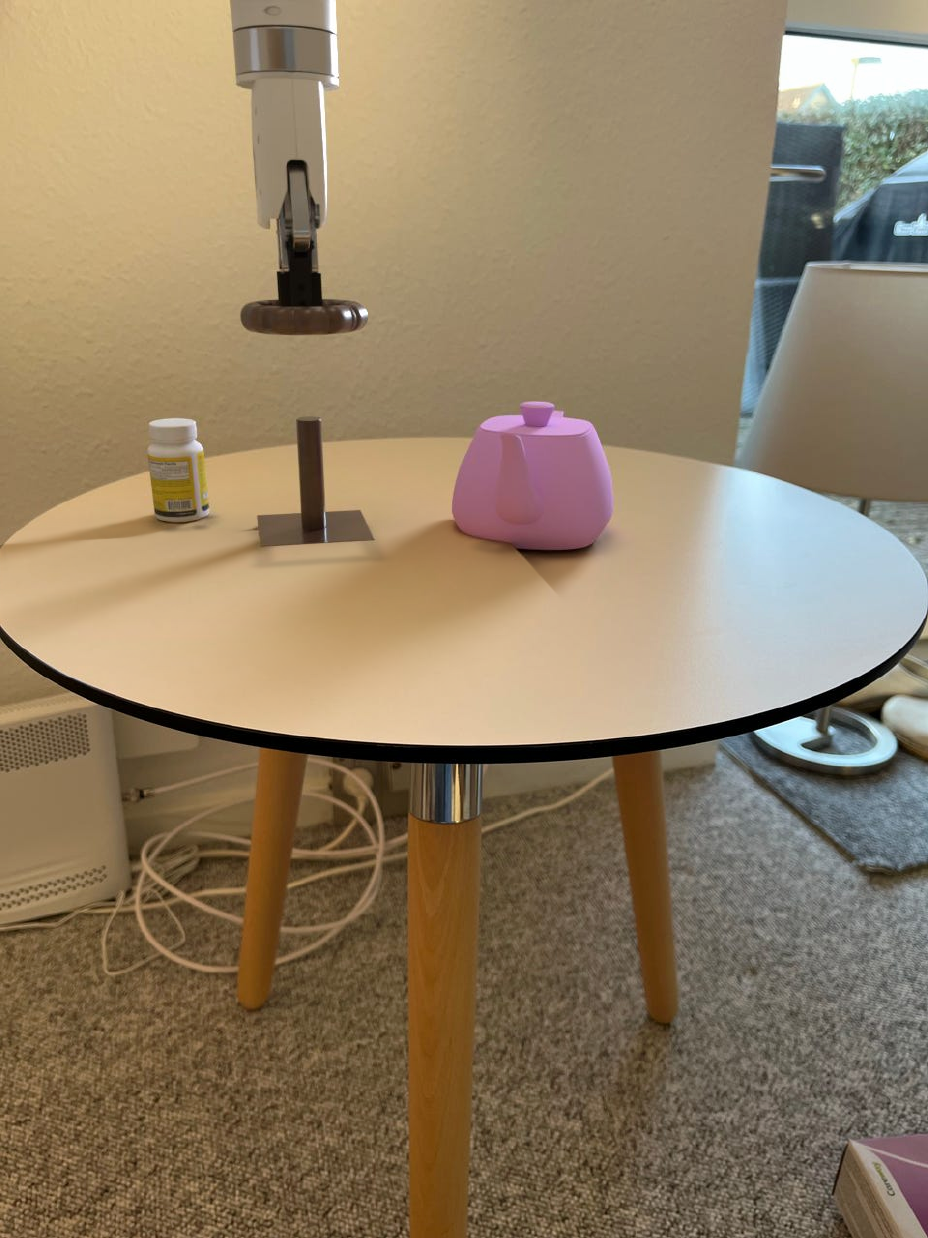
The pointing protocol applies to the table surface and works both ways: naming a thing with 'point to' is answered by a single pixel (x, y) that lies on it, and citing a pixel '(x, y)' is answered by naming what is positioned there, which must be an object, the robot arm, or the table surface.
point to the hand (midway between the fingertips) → (301, 322)
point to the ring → (303, 318)
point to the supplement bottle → (177, 471)
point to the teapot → (534, 481)
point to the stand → (312, 502)
